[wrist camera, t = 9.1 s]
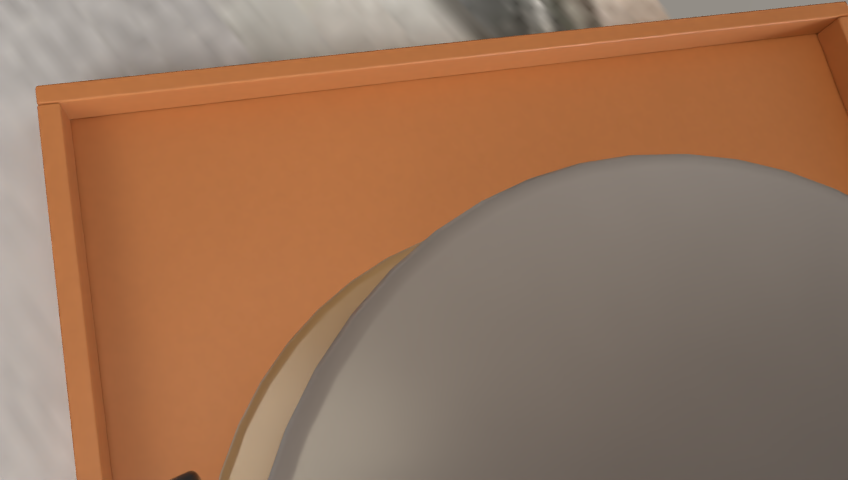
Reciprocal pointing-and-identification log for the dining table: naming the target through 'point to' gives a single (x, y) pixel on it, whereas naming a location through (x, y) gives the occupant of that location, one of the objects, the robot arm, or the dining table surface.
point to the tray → (362, 188)
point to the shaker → (581, 339)
